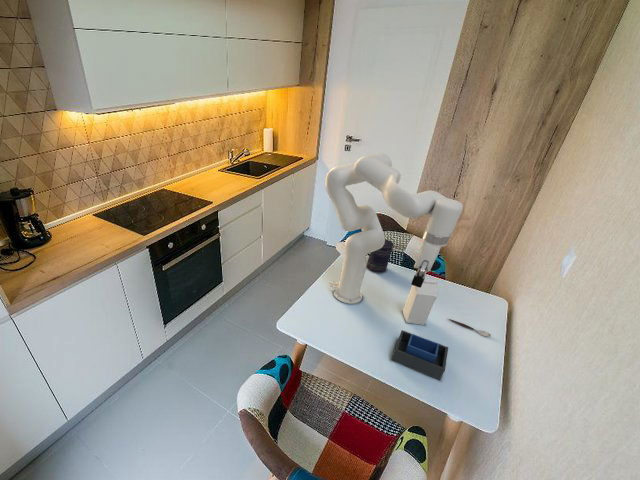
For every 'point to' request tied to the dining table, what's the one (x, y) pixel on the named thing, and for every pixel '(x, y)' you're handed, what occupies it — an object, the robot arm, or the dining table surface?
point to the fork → (470, 328)
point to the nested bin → (422, 348)
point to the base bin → (417, 363)
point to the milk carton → (420, 303)
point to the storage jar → (380, 258)
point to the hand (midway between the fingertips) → (418, 279)
